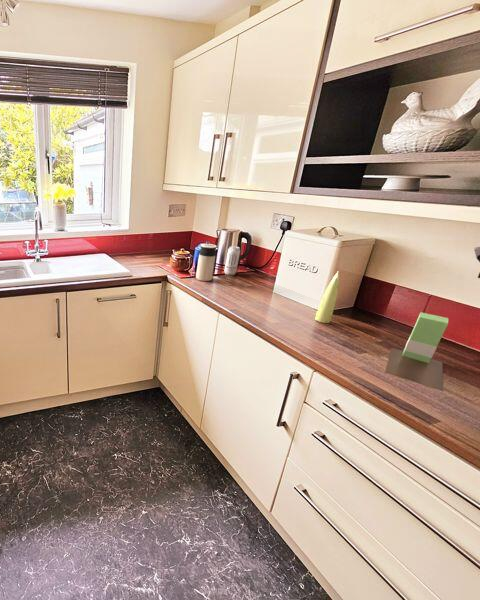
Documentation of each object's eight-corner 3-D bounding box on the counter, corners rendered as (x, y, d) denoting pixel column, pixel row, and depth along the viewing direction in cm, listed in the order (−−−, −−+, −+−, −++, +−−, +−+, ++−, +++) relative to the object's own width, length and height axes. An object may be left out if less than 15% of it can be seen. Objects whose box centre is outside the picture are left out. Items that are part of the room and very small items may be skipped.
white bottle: (223, 274, 184) (228, 247, 178) (224, 271, 189) (228, 245, 183) (235, 276, 182) (240, 249, 176) (235, 273, 187) (240, 246, 181)
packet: (429, 363, 102) (429, 357, 105) (448, 323, 96) (448, 318, 99) (402, 355, 106) (403, 350, 109) (419, 317, 100) (420, 312, 103)
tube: (334, 324, 128) (350, 275, 120) (321, 324, 127) (337, 275, 120) (323, 317, 133) (338, 270, 126) (311, 318, 133) (325, 271, 125)
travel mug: (214, 280, 174) (220, 246, 167) (201, 281, 172) (206, 247, 165) (206, 276, 181) (211, 243, 174) (192, 277, 179) (197, 244, 173)
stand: (441, 363, 103) (442, 362, 103) (442, 392, 90) (443, 390, 90) (390, 349, 111) (391, 347, 111) (384, 373, 98) (384, 372, 97)
